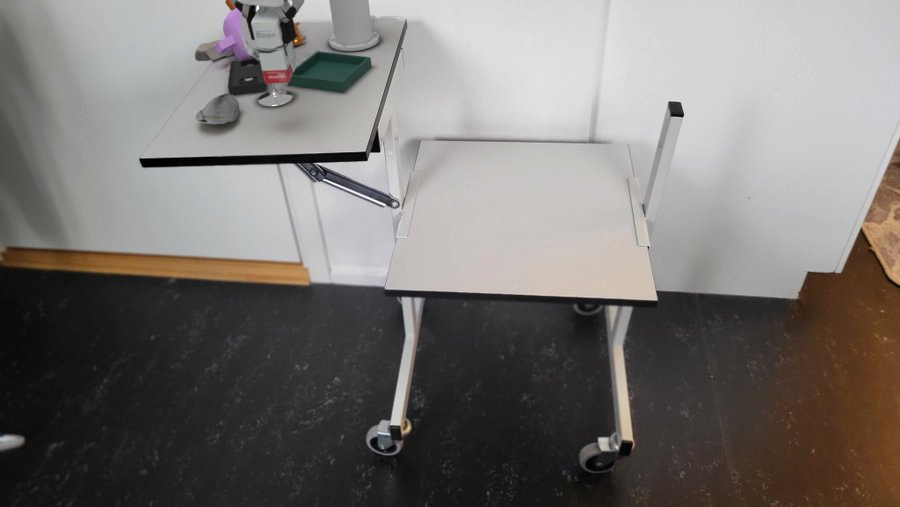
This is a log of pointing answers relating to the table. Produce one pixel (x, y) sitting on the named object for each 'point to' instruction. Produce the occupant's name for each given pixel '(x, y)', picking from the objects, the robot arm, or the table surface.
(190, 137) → the table surface
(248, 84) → the vhs tape
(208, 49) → the stone
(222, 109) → the seashell
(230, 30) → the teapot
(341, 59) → the tray
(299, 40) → the figurine
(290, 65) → the ink box
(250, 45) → the wineglass
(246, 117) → the table surface
